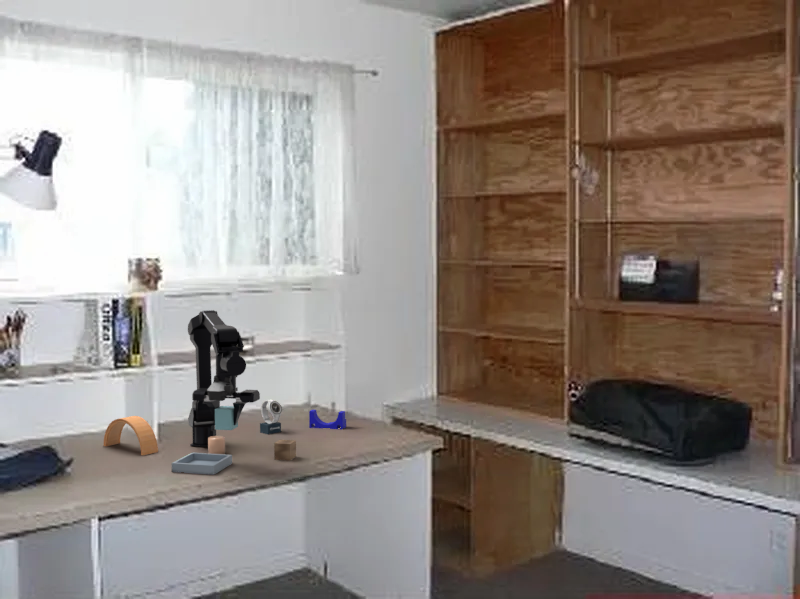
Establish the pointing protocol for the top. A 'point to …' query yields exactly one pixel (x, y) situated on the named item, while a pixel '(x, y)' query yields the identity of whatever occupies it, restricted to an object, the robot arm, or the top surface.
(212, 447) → the terracotta cylinder
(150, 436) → the arch
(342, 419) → the cable clip
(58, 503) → the top surface
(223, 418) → the teal block
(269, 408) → the watch
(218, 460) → the tray
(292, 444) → the walnut cube
